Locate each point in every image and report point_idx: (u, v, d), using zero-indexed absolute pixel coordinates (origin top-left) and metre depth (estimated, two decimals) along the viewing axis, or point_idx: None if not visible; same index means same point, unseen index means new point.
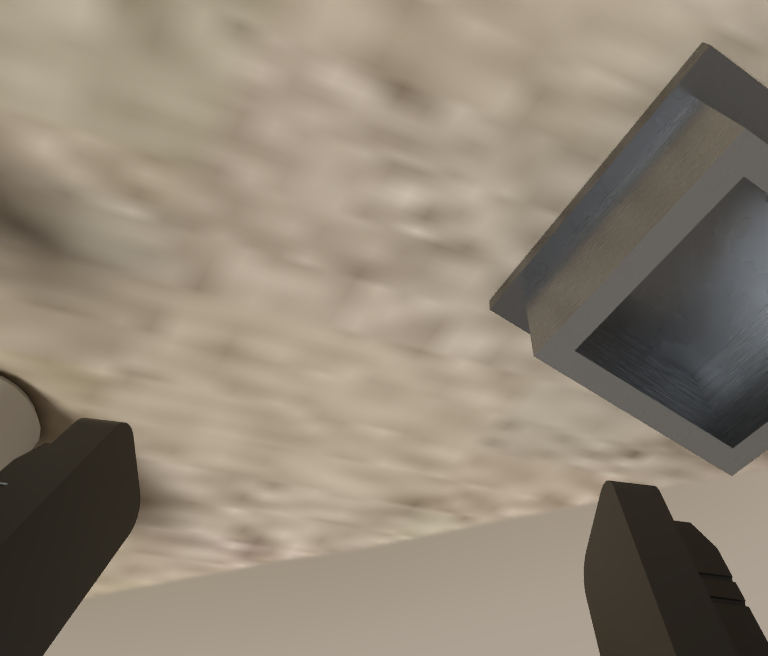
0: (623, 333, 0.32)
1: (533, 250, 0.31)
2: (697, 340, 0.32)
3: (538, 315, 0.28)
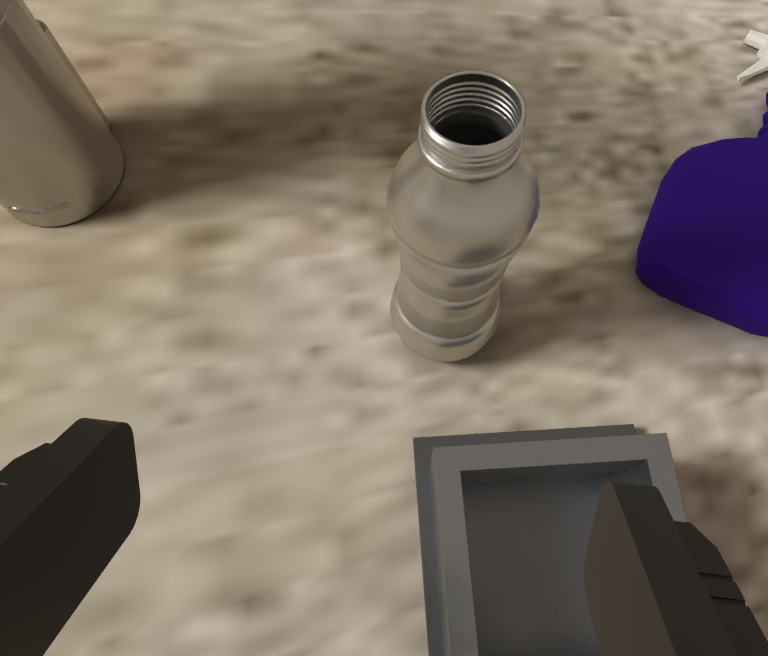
0: None
1: (428, 650, 0.33)
2: None
3: None
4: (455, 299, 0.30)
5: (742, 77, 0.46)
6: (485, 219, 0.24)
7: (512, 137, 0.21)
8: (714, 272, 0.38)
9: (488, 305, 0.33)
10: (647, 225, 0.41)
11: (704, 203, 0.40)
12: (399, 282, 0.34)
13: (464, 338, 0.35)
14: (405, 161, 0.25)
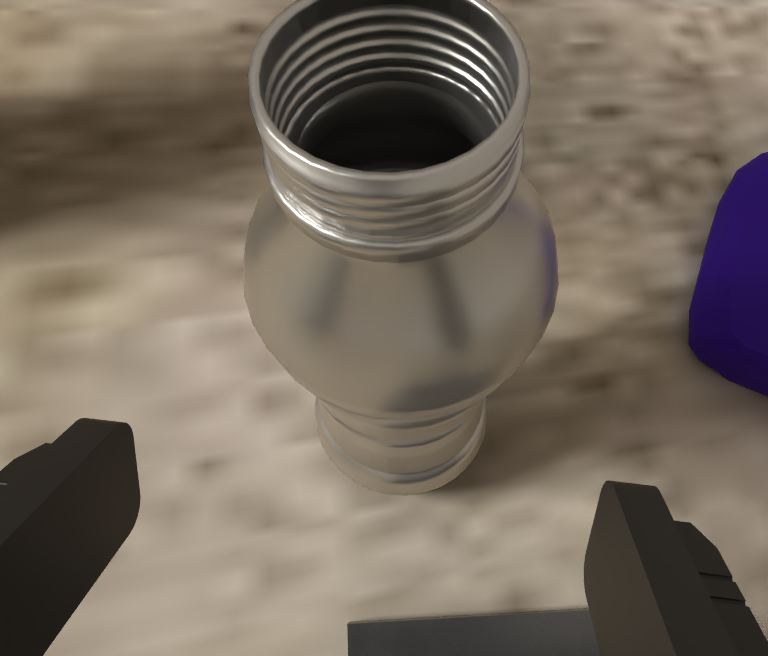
0: None
1: None
2: None
3: None
4: (399, 438, 0.17)
5: None
6: (436, 334, 0.10)
7: (493, 147, 0.07)
8: None
9: (463, 431, 0.19)
10: (703, 272, 0.27)
11: None
12: None
13: (426, 474, 0.21)
14: (265, 198, 0.11)
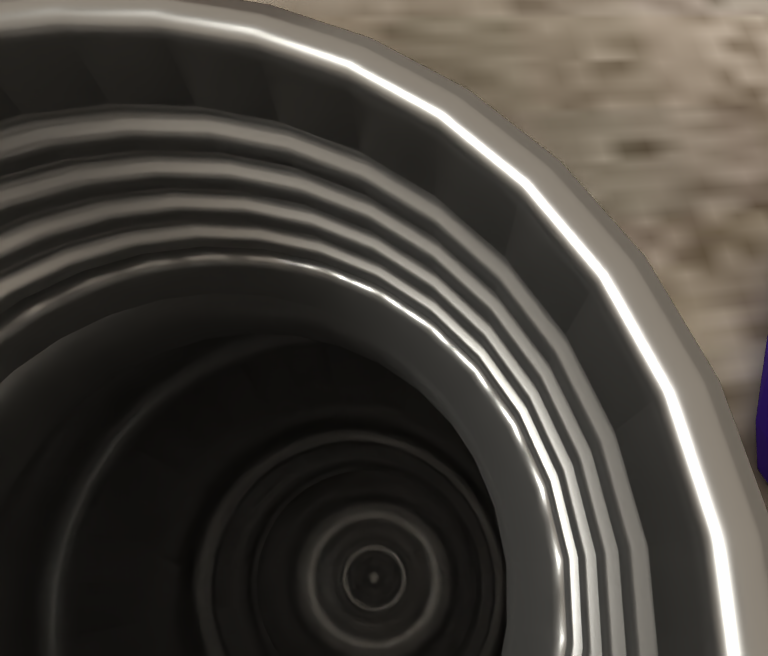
0: None
1: None
2: None
3: None
4: None
5: None
6: None
7: None
8: None
9: None
10: None
11: None
12: None
13: None
14: None
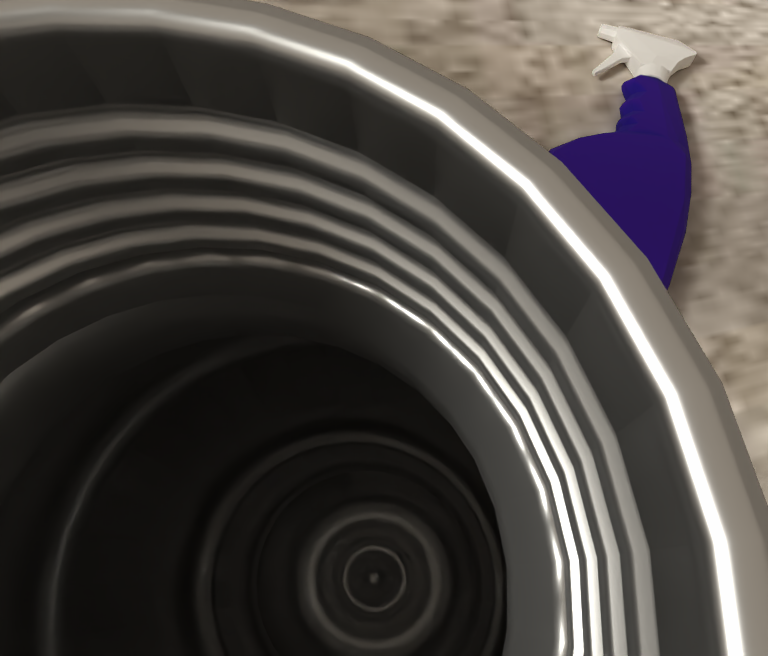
0: None
1: None
2: None
3: None
4: None
5: (597, 72, 0.46)
6: None
7: None
8: None
9: None
10: None
11: None
12: None
13: None
14: None
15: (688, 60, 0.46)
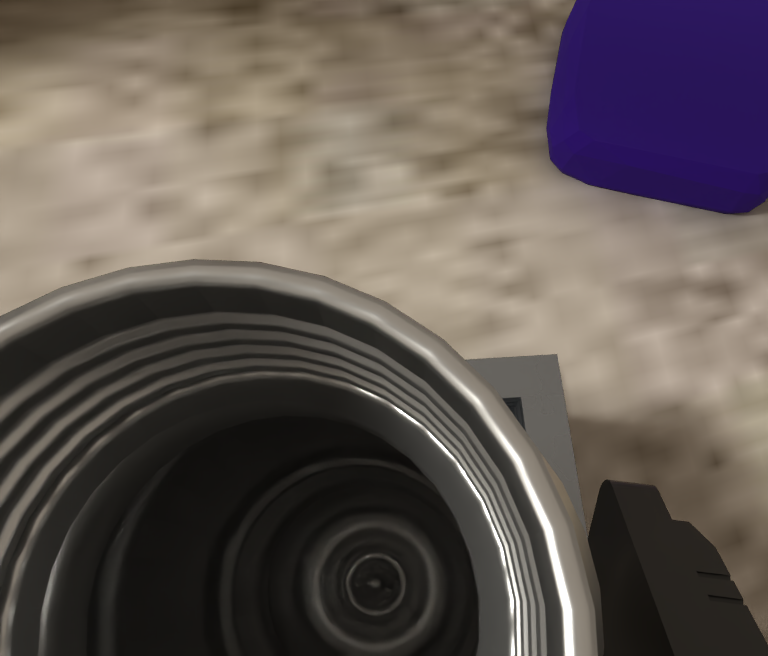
0: None
1: None
2: None
3: None
4: None
5: None
6: None
7: None
8: (658, 132, 0.26)
9: None
10: (553, 91, 0.29)
11: (624, 44, 0.28)
12: None
13: None
14: None
15: None
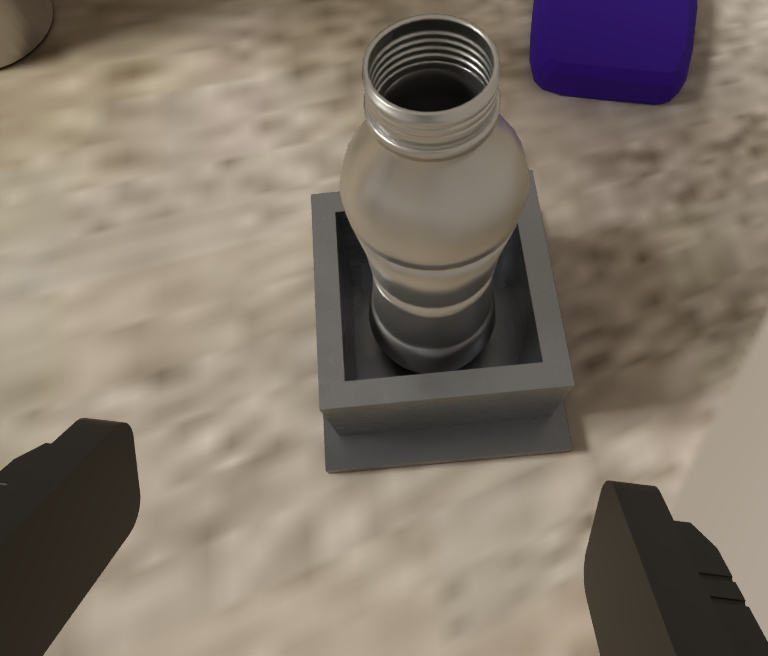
0: None
1: None
2: None
3: None
4: (435, 306, 0.25)
5: None
6: (458, 208, 0.19)
7: (482, 98, 0.16)
8: (603, 52, 0.39)
9: (478, 309, 0.28)
10: (532, 34, 0.42)
11: None
12: (373, 286, 0.29)
13: (453, 348, 0.30)
14: (356, 140, 0.20)
15: None
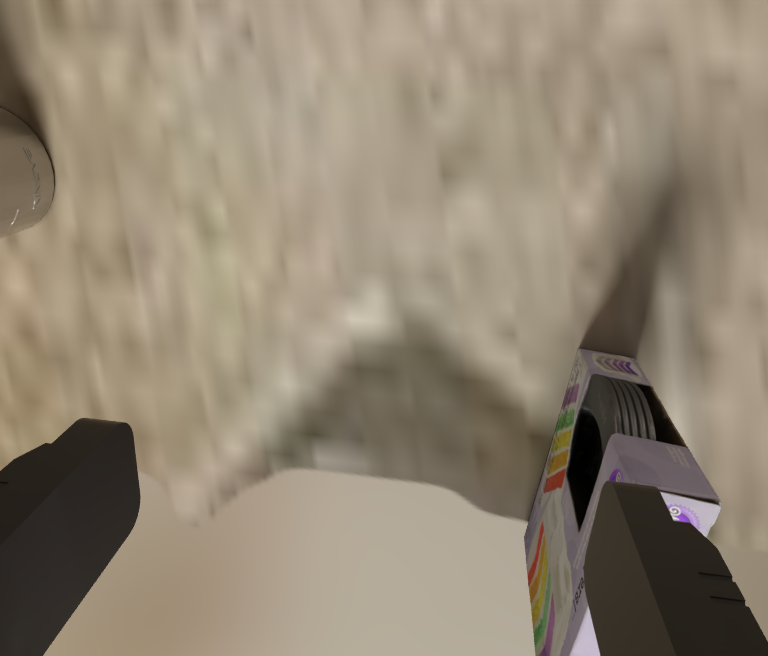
0: None
1: None
2: None
3: None
4: None
5: None
6: None
7: None
8: None
9: None
10: None
11: None
12: None
13: None
14: None
15: None
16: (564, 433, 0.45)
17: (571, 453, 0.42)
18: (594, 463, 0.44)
